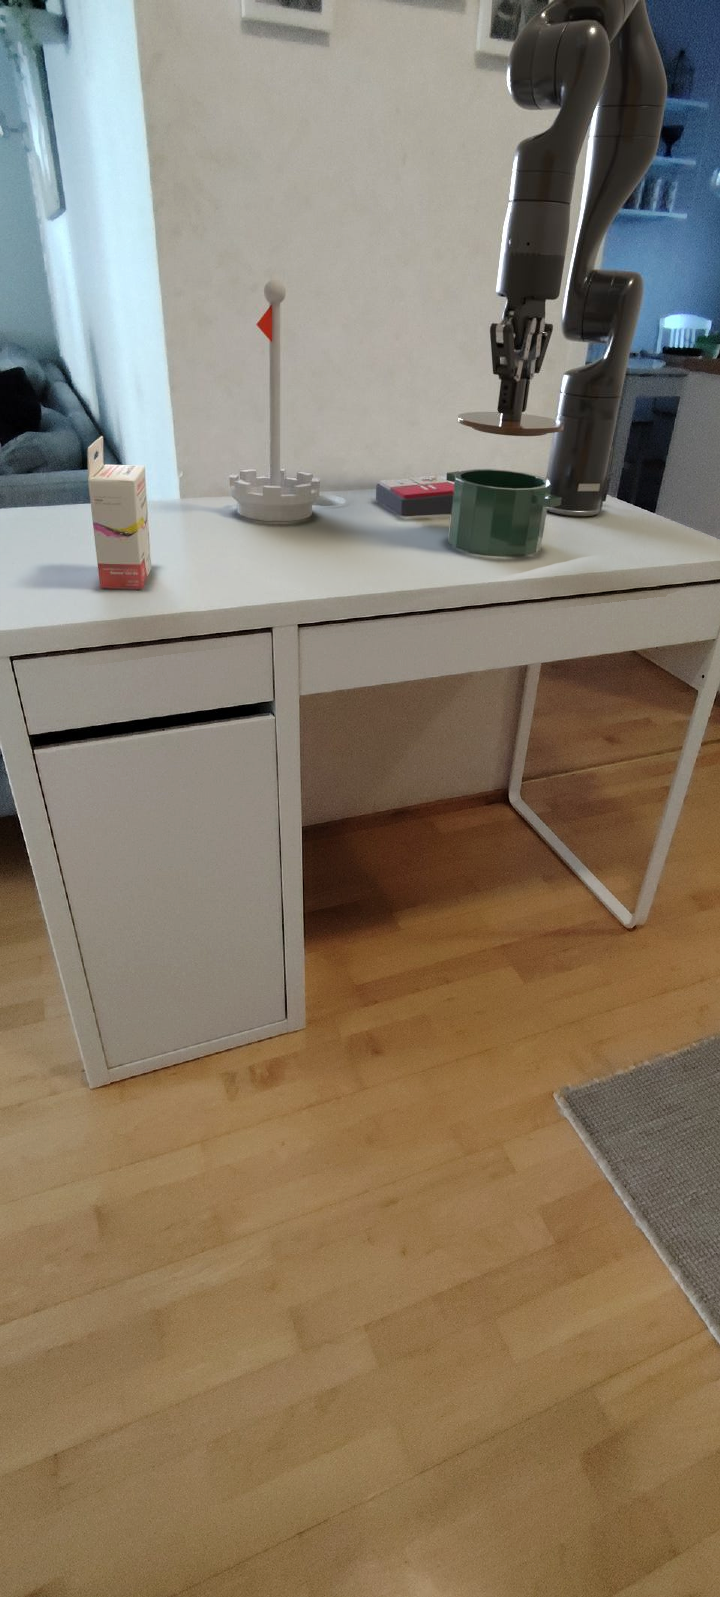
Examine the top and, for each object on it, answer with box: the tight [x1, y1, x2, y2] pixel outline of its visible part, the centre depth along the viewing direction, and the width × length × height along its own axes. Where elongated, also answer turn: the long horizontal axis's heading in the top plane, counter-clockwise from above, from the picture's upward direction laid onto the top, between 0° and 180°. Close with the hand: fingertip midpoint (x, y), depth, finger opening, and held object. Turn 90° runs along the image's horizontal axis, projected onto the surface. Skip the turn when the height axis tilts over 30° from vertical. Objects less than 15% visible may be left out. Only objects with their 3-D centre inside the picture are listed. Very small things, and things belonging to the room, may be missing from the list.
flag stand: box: [229, 278, 321, 522], centre depth 117 cm, size 13×13×30 cm
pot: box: [446, 468, 561, 558], centre depth 114 cm, size 13×18×9 cm
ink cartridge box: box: [87, 435, 153, 590], centre depth 93 cm, size 9×5×15 cm, turn 5°
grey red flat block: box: [375, 475, 454, 517], centre depth 132 cm, size 11×4×15 cm
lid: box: [456, 377, 564, 437], centre depth 107 cm, size 14×14×6 cm
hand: (511, 412), depth 107 cm, fingers closed on lid, 2 cm apart
